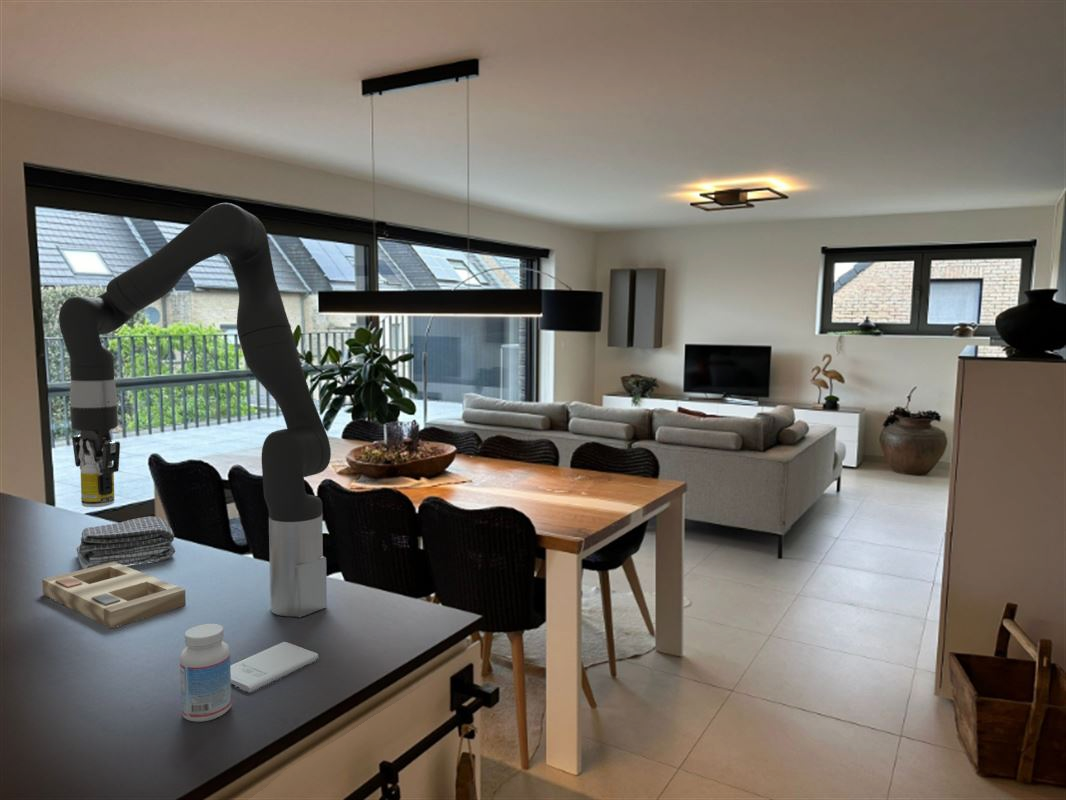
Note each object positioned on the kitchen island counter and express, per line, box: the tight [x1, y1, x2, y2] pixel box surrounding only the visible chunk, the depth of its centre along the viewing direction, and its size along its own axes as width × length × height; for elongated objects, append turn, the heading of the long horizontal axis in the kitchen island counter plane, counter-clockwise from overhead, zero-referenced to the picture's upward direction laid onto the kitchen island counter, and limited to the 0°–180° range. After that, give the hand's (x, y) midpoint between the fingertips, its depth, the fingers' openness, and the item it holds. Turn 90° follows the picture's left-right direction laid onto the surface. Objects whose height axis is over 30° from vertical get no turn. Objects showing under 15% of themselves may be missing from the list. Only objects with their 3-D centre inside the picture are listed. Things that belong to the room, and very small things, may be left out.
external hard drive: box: [230, 641, 319, 691], centre depth 108 cm, size 2×8×12 cm
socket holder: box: [41, 562, 187, 629], centre depth 134 cm, size 26×13×3 cm, turn 56°
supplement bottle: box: [80, 454, 115, 508], centre depth 137 cm, size 5×5×10 cm
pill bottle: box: [179, 623, 233, 723], centre depth 96 cm, size 6×6×11 cm
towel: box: [76, 515, 176, 570], centre depth 159 cm, size 15×18×8 cm
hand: (97, 491), depth 137 cm, fingers closed on supplement bottle, 5 cm apart
